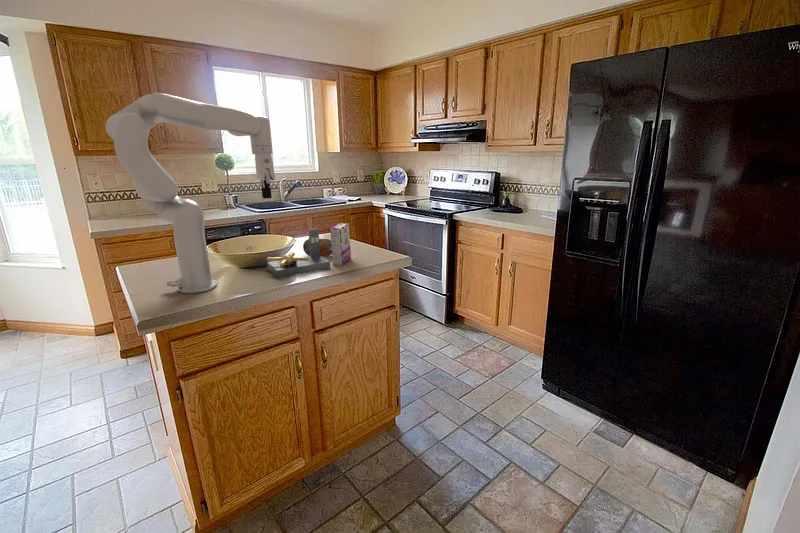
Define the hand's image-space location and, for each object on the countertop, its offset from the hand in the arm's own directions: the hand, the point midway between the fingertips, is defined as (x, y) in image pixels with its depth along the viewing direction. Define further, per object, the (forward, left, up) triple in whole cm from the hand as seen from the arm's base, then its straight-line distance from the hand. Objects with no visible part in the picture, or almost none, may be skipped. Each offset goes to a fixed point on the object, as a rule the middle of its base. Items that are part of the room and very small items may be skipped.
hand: (267, 198), depth 151 cm
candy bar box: (+27, -9, -29) cm, 41 cm away
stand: (+8, -8, -29) cm, 31 cm away
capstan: (+3, -10, -26) cm, 28 cm away
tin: (+23, +7, -29) cm, 38 cm away
